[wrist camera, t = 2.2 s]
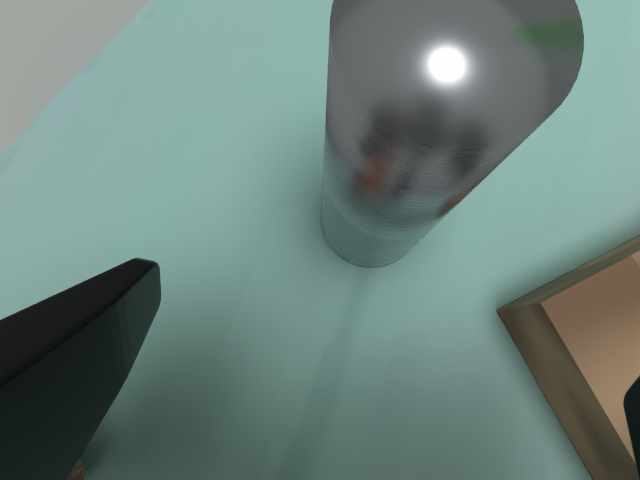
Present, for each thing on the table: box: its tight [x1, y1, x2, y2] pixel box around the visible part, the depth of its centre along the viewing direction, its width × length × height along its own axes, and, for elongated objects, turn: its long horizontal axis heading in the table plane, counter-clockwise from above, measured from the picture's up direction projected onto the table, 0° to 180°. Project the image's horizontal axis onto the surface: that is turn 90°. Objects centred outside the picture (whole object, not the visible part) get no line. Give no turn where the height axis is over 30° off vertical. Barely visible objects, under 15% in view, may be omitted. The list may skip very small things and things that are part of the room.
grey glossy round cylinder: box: [322, 0, 584, 268], centre depth 14 cm, size 4×4×13 cm
